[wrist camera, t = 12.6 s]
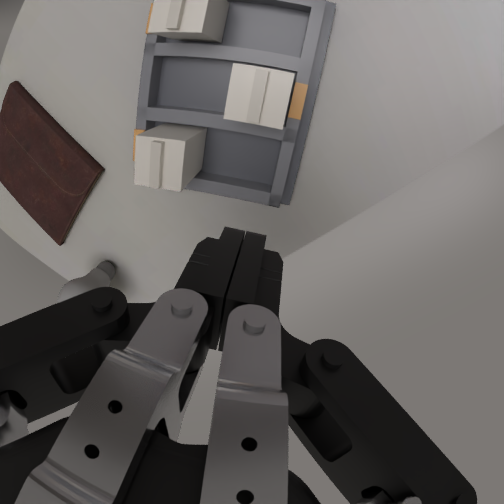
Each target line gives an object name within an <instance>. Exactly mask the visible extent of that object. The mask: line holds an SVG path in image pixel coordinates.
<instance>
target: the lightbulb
mask: <svg viewBox="0 0 504 504" xmlns="http://www.w3.org/2000/svg"><path fill="white" fill-rule="evenodd" d="M114 275H115V268H114V266H113V265H112V264H111V263H109V262H107V261H103V262H101V263H100V264H99V265H98V266H97V267H96V268H95V269H93V270H91V272H90V273H88V274H87V275H86V276H84V277H80V278H76V279H73V280H71V281H69V282H68V283H66V284H65V285H64V286H63V287H62V289H61V291H60V293H59V296H58V303H59V302H62V301H64V300H67V299H69V298H72V297H74V296H77V295H79V294H82V293H84V292H87V291H90V290H92V289H95V288H99V287H109V285H110V281H111V280H112V278H113V276H114Z"/></svg>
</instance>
